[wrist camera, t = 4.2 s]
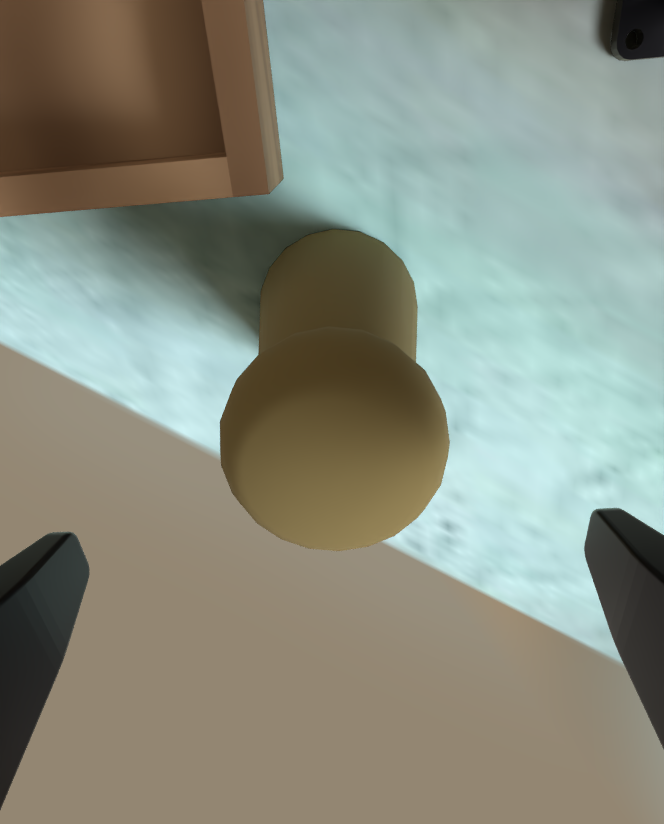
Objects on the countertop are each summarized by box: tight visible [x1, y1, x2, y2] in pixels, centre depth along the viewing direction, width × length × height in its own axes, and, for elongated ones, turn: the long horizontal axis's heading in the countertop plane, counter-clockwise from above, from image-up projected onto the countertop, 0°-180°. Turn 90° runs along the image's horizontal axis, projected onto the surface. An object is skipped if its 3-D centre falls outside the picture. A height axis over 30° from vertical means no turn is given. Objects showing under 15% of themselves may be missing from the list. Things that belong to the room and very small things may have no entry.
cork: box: [220, 229, 450, 551], centre depth 15 cm, size 6×6×11 cm
